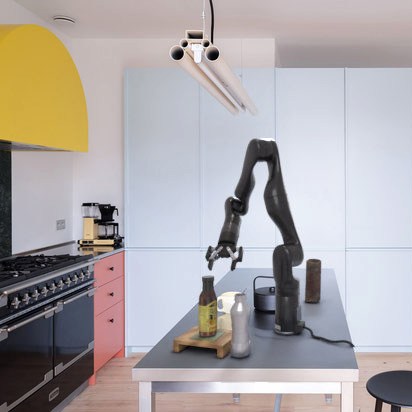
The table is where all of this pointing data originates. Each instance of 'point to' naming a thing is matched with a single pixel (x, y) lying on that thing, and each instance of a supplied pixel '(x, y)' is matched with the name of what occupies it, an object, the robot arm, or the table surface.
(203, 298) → the sauce bottle
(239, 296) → the plastic bottle
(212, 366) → the table surface
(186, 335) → the wooden stand
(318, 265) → the rusty brown cylinder
